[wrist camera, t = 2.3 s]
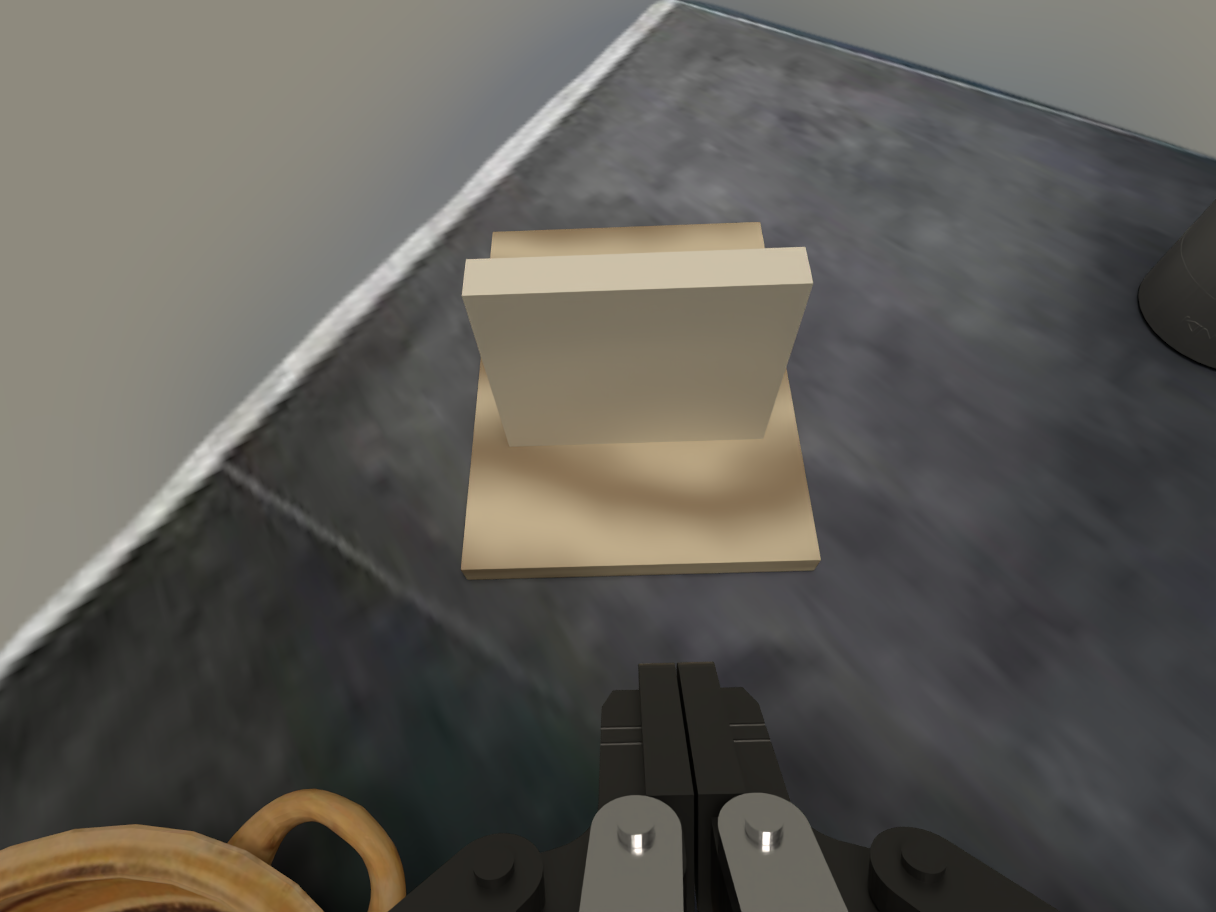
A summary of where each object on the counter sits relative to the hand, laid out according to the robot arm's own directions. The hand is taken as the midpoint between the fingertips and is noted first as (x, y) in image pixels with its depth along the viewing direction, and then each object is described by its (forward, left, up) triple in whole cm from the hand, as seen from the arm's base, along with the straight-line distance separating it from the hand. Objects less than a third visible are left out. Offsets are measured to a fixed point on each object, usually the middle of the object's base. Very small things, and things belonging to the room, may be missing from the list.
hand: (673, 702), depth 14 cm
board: (-17, -14, -20) cm, 29 cm away
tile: (-14, -11, -18) cm, 25 cm away
